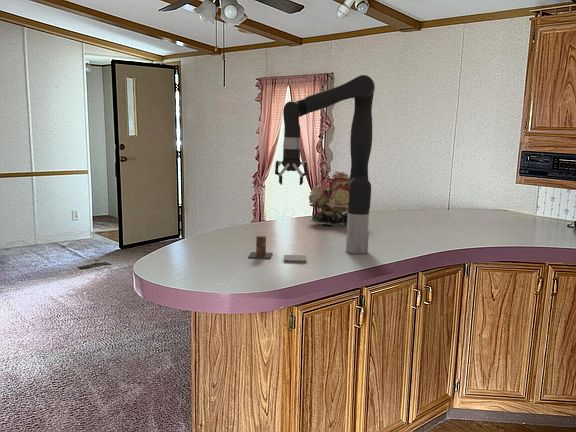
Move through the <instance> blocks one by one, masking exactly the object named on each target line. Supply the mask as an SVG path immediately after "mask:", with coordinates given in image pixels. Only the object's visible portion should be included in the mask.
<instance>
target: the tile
mask: <svg viewBox="0 0 576 432" xmlns="http://www.w3.org/2000/svg"><path fill="white" fill-rule="evenodd" d="M284 262H285V264H287V263H288V264H307V255H303V254H284V255H283V263H284Z"/></svg>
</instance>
